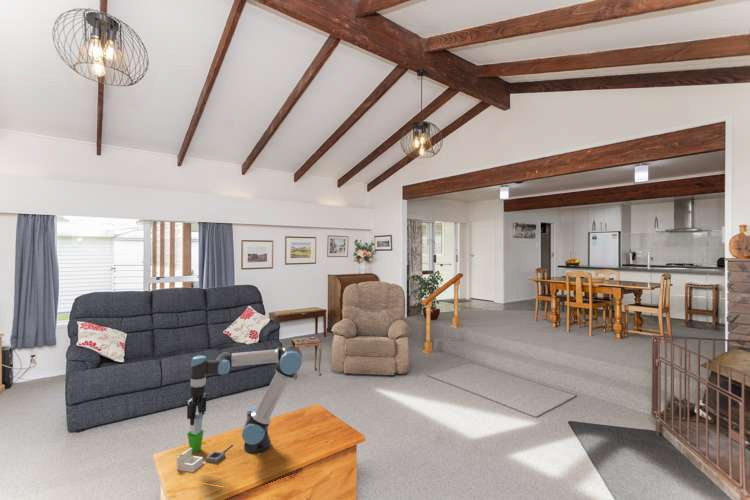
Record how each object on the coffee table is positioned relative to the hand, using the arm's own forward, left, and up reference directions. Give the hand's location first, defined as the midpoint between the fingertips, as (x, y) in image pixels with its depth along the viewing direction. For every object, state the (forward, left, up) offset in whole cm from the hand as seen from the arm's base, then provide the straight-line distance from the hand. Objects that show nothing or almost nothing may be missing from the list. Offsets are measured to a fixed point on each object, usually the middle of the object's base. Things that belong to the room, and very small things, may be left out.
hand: (196, 428), depth 206 cm
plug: (0, 0, -2) cm, 2 cm away
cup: (+10, -12, -20) cm, 25 cm away
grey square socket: (-7, -7, -20) cm, 22 cm away
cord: (-7, -16, -20) cm, 27 cm away
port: (+1, +2, -20) cm, 20 cm away
